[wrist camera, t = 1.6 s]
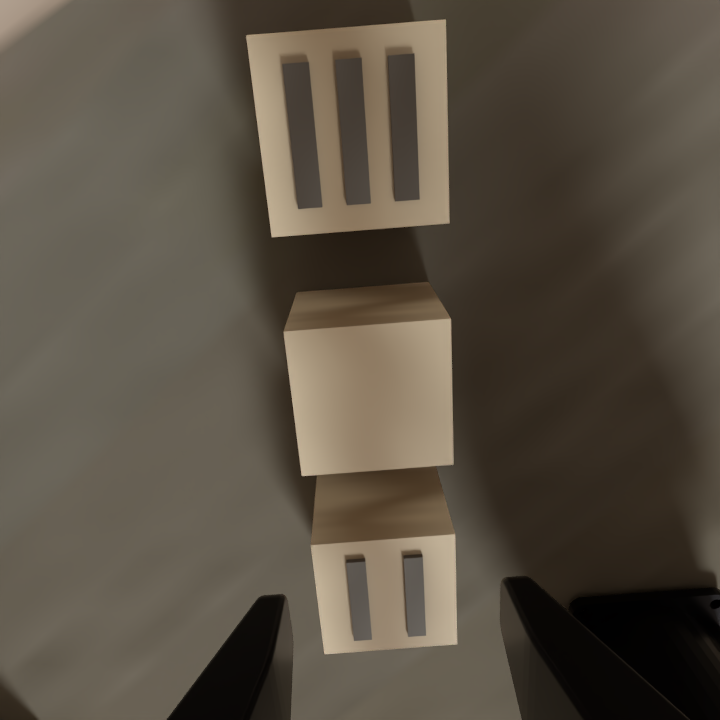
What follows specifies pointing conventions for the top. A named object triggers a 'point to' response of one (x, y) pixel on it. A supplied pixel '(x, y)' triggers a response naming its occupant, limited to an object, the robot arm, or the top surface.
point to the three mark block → (353, 126)
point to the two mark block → (384, 560)
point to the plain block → (370, 378)
